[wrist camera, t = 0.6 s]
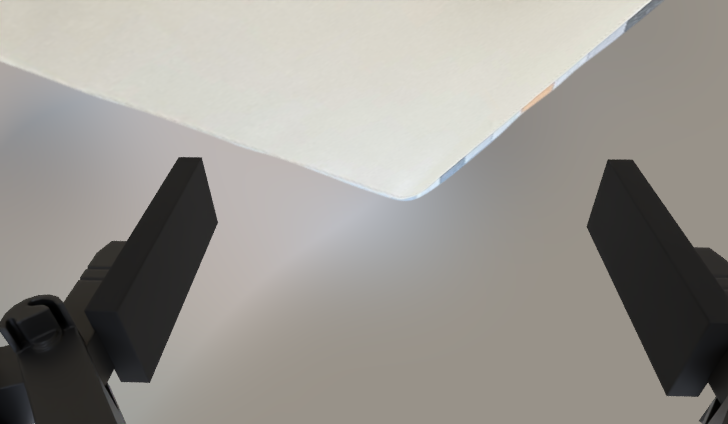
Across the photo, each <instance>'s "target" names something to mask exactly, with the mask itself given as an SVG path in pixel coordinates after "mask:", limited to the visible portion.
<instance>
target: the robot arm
mask: <svg viewBox="0 0 728 424" xmlns="http://www.w3.org/2000/svg"><path fill="white" fill-rule="evenodd" d="M217 223H218V221H217V217H216V213H215V209H214V205H213V201H212V197H211V193H210V189H209V186H208V181H207V177H206V173H205V169H204V165H203V161H202V158H199V157H198V158H197V157H194V158H193V157H179V158H178V160H177V161H176V163H175V164H174V166H173V168H172V169H171V171H170V172H169V174H168V176H167V177H166V179H165V180H164V182H163V184H162V185H161V187H160V189H159V190H158V192H157V193H156V195H155V197H154V198H153V200H152V201H151V203H150V205H149V206H148V208H147V210H146V211H145V213H144V214H143V216H142V218H141V219H140V221H139V222H138V224H137V226H136V227H135V229H134V231H133V232H132V234H131V236H130V237H129V239H128V240H127V241H111V242H110V243H109V244H108V245H106V246H105V247H104V248H102V249H101V250H100V251H99V252H98V253H96V255H95V256H94V258H93V260H92V261H91V262H90V264H89V265H88V269H86V270H85V271H84V273H83V274H82V276H81V277H80V280H78V282H77V283H76V285H75V286H74V288H73V290H72V291H71V292H70V294H69V295H68V297H67V298H66V300H65V301H64V303H63V302H62V301H61V300H60V299H59V297H56V296H53V295H38V296H34V297H32V298H28V299H25V300H23V301H22V302H20V303H18V304H16V305H14V306H13V307H12V308H11V309H10V310H9V311H8V312H7V313H6V314H5V315H4V317H3V318H2V320H1V321H0V332H1V334H2V335H3V336H4V338H5V339H6V341H7V342H8V344H9V345H8V346H4V347H0V424H34V423H35V424H126V422H125V420H124V418H123V415H122V413H121V411H120V409H119V406H118V404H117V402H116V399H115V397H114V395H113V393H112V390H111V388H110V386H109V385H108V383H107V382H108V380H109V378H110V376H111V374H112V372H113V370H114V369H115V371H116V373H117V375H118V377H119V379H120V381H121V382H145V383H150V381H151V379H152V376H153V374H154V372H155V369H156V367H157V365H158V362H159V360H160V357H161V355H162V353H163V350H164V348H165V346H166V343H167V341H168V339H169V336H170V334H171V332H172V329H173V327H174V325H175V322H176V320H177V317H178V315H179V313H180V310H181V308H182V306H183V303H184V301H185V299H186V296H187V294H188V292H189V289H190V287H191V285H192V282H193V280H194V278H195V275H196V273H197V270H198V268H199V266H200V263H201V261H202V259H203V256H204V254H205V252H206V249H207V247H208V245H209V242H210V240H211V237H212V235H213V233H214V230H215V228H216V225H217ZM587 228H588V230H589V232H590V235H591V237H592V239H593V241H594V243H595V245H596V247H597V250H598V252H599V254H600V256H601V258H602V260H603V262H604V264H605V266H606V268H607V270H608V273H609V275H610V277H611V279H612V281H613V283H614V285H615V288H616V290H617V292H618V294H619V296H620V298H621V300H622V302H623V304H624V307H625V309H626V311H627V313H628V315H629V317H630V319H631V321H632V323H633V326H634V328H635V330H636V332H637V334H638V336H639V338H640V340H641V342H642V345H643V347H644V349H645V351H646V353H647V355H648V357H649V360H650V362H651V364H652V366H653V368H654V370H655V372H656V374H657V376H658V379H659V381H660V383H661V385H662V387H663V389H664V391H665V393H666V395H667V396H692V397H696V396H697V397H698V396H699V395H700V393H701V392H702V390H703V389H704V387H705V386H706V384H707V383H709V384H710V386H711V388H712V390H713V392H714V393H715V395H716V397H715V399H714V400H713V401H712V403H711V405H710V406H709V407H708V409H707V410H706V412H705V413H704V414H703V416H702V417H701V419H700V420H699V421H700V422H701V423H702V424H728V262H727V261H726V260H725V259H724V258H723V257H721V256H720V255H718V254H717V253H716V252H714V251H713V250H712V249H710V248H697V247H695V248H694V247H693V246H692V244H691V243H690V241H689V240H688V239H687V237H686V236H685V234H684V233H683V231H682V230H681V229H680V227H679V226H678V224H677V223H676V222H675V220H674V219H673V217H672V216H671V214H670V213H669V211H668V210H667V208H666V207H665V206H664V204H663V203H662V202H661V200H660V198H659V197H658V196H657V194H656V193H655V192H654V190H653V188H652V187H651V186H650V184H649V183H648V182H647V180H646V178H645V177H644V176H643V174H642V173H641V171H640V170H639V168H638V167H637V165H636V164H635V163H634V161H633V160H608V161H607V164H606V167H605V170H604V173H603V177H602V180H601V183H600V186H599V190H598V193H597V195H596V199H595V202H594V205H593V208H592V212H591V214H590V218H589V221H588V224H587Z"/></svg>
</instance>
